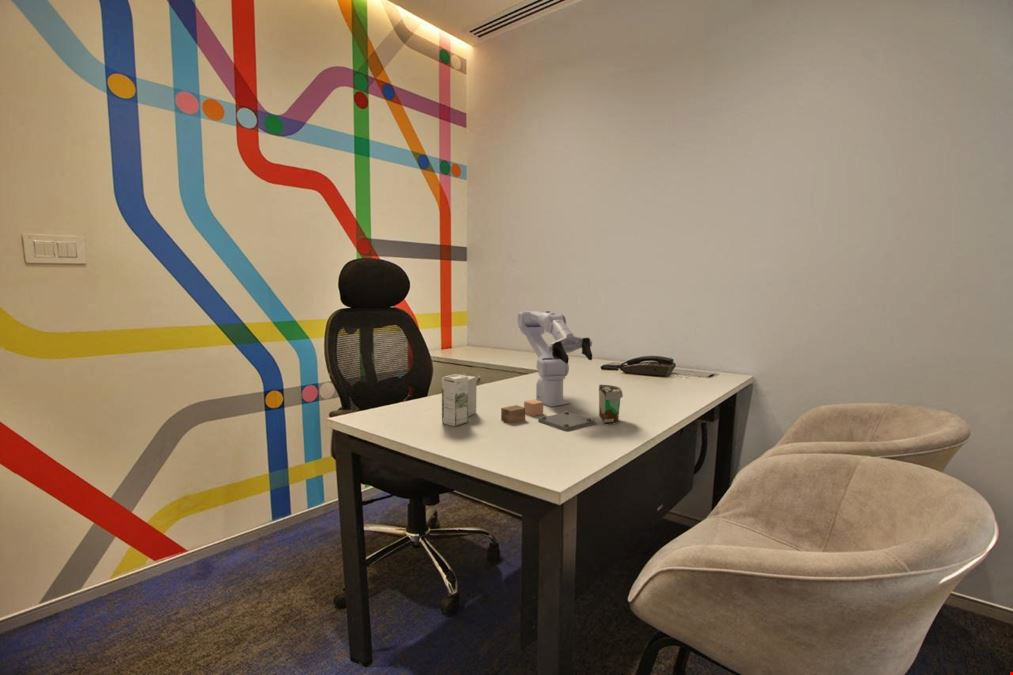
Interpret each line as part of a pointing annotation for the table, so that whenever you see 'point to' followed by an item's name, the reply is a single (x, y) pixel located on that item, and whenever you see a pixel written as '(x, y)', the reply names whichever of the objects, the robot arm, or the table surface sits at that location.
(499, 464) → the table surface
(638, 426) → the table surface
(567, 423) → the base plate
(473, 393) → the skincare box
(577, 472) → the table surface
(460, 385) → the syrup box
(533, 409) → the terracotta block
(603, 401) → the food container
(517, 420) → the walnut brick
